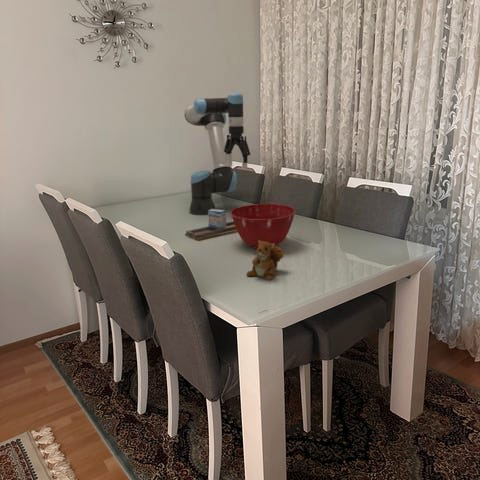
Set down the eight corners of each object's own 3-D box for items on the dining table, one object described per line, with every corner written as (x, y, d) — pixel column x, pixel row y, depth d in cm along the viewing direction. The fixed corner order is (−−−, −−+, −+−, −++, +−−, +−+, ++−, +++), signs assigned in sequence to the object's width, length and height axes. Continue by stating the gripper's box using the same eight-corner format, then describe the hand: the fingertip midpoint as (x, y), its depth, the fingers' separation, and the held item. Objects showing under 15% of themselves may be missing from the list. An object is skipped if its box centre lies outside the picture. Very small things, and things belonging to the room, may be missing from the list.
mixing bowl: (241, 257, 187) (240, 221, 182) (224, 238, 213) (223, 206, 208) (305, 250, 194) (305, 214, 189) (281, 232, 220) (281, 201, 215)
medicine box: (208, 227, 222) (207, 210, 220) (213, 225, 226) (212, 208, 224) (222, 229, 219) (221, 211, 216) (226, 227, 223) (226, 209, 220)
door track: (185, 235, 219) (184, 230, 219) (235, 224, 236) (235, 219, 235) (198, 241, 210) (197, 235, 209) (249, 229, 227) (249, 224, 226)
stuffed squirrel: (244, 277, 166) (243, 242, 162) (265, 265, 177) (265, 233, 173) (267, 282, 161) (267, 247, 157) (287, 270, 171) (287, 237, 168)
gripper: (216, 125, 237) (218, 165, 243) (244, 127, 217) (245, 171, 224) (228, 124, 241) (229, 164, 247) (256, 126, 221) (257, 169, 228)
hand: (237, 167), depth 235 cm, fingers open, 13 cm apart
